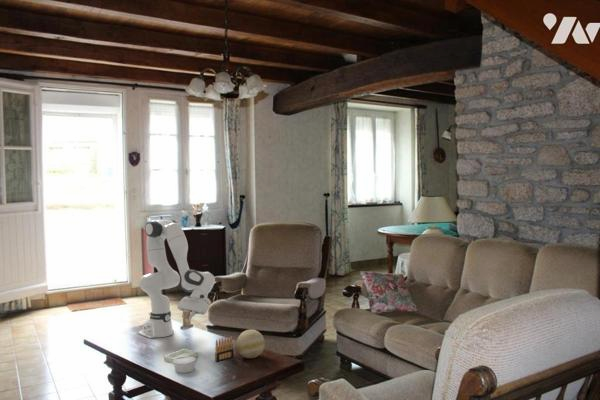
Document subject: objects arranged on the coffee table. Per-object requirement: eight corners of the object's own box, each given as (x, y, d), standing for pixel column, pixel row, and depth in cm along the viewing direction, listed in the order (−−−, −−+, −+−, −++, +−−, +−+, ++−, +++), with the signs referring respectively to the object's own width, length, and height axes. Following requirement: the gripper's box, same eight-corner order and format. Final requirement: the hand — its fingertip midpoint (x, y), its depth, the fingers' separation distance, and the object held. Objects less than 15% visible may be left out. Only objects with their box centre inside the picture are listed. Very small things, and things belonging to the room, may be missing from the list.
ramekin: (188, 364, 267) (188, 354, 267) (200, 369, 259) (200, 359, 259) (169, 370, 259) (168, 359, 259) (180, 375, 251) (180, 365, 251)
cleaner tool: (180, 329, 290) (180, 311, 290) (189, 326, 296) (189, 309, 295) (184, 330, 288) (184, 312, 288) (193, 327, 294) (192, 309, 294)
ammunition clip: (216, 362, 268) (216, 340, 268) (214, 362, 270) (214, 339, 269) (234, 358, 275) (233, 336, 274) (232, 357, 276) (231, 335, 276)
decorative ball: (251, 364, 265) (250, 335, 264) (231, 358, 274) (230, 330, 273) (270, 356, 276) (270, 329, 276) (250, 351, 286) (250, 324, 285)
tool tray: (163, 360, 273) (163, 356, 272) (183, 352, 285) (183, 348, 285) (177, 364, 267) (177, 359, 267) (197, 356, 279) (197, 351, 279)
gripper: (182, 292, 303) (170, 312, 295) (208, 296, 292) (196, 318, 284) (187, 298, 307) (175, 318, 299) (213, 302, 296) (201, 323, 288)
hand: (185, 318), depth 291 cm, fingers closed on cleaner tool, 3 cm apart
